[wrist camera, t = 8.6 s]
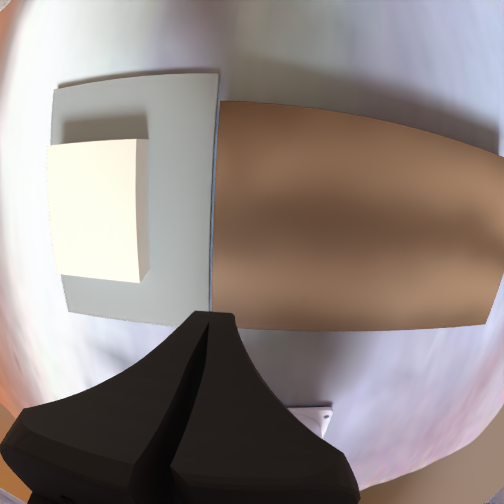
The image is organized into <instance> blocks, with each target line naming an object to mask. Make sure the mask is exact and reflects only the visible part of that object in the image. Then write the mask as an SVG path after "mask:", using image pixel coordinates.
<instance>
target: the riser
mask: <svg viewBox="0 0 504 504" xmlns="http://www.w3.org/2000/svg"><path fill="white" fill-rule="evenodd" d="M503 273H504V157H502V156H499V155H496V154H494V153H491V152H489V151H486V150H483V149H481V148H478V147H475V146H472V145H469V144H466V143H463V142H460V141H457V140H454V139H451V138H448V137H445V136H441V135H438V134H435V133H431V132H428V131H424V130H420V129H417V128H413V127H409V126H405V125H401V124H397V123H392V122H388V121H384V120H379V119H374V118H369V117H364V116H359V115H354V114H348V113H342V112H336V111H330V110H323V109H316V108H308V107H300V106H291V105H282V104H270V103H257V102H240V101H220V112H219V127H218V143H217V161H216V181H215V203H214V231H213V270H212V312H226V313H233V314H234V315H235V322H236V326H237V328H246V329H265V330H291V331H390V330H415V329H433V328H448V327H460V326H472V325H482V324H485V323H486V321H487V318H488V316H489V313H490V311H491V308H492V305H493V303H494V300H495V297H496V294H497V291H498V288H499V285H500V282H501V279H502V276H503Z"/></svg>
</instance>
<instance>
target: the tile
mask: <svg viewBox="0 0 504 504" xmlns="http://www.w3.org/2000/svg"><path fill="white" fill-rule="evenodd" d="M148 146H149V139H123V140H105V141H91V142H79V143H69V144H59V145H51V146H47V186H48V203H49V216H50V226H51V235H52V243H53V250H54V257H55V264H56V270H57V274H63V275H71V276H79V277H88V278H97V279H106V280H115V281H124V282H134V283H140V282H141V281H142V279H143V278H144V277H145V275H146V274H147V273H148V271H149V270H150V262H149V241H148Z"/></svg>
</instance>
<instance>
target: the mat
mask: <svg viewBox="0 0 504 504" xmlns="http://www.w3.org/2000/svg"><path fill="white" fill-rule="evenodd" d="M218 86H219V74H218V73H189V74H164V75H150V76H138V77H128V78H119V79H112V80H104V81H98V82H91V83H85V84H80V85H74V86H69V87H64V88H60V89H55V90H54V94H53V105H52V120H51V145H59V144H69V143H79V142H91V141H105V140H123V139H149V146H148V241H149V262H150V270H149V271H148V273H147V274H146V275H145V277H144V278H143V279H142V281H141V282H140V283H134V282H124V281H115V280H106V279H97V278H88V277H79V276H71V275H63V274H61V277H62V283H63V288H64V293H65V298H66V303H67V307H68V311H69V312H73V313H79V314H85V315H91V316H97V317H103V318H110V319H117V320H124V321H131V322H139V323H147V324H156V325H164V326H174V327H179V326H180V325H181V324H182V323H183V322H184V321H185V320H186V319H187V317H188V316H189V315H190V314H191V313H193V312H194V311H195V310H196V311H209V295H210V237H211V206H212V182H213V161H214V143H215V127H216V112H217V99H218Z"/></svg>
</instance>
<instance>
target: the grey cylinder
mask: <svg viewBox="0 0 504 504" xmlns="http://www.w3.org/2000/svg"><path fill="white" fill-rule="evenodd" d="M11 1H12V0H0V12H1V11H2V10H3V9H4V8H5V7H6V6H7V5H8V4H9V3H10V2H11Z"/></svg>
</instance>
